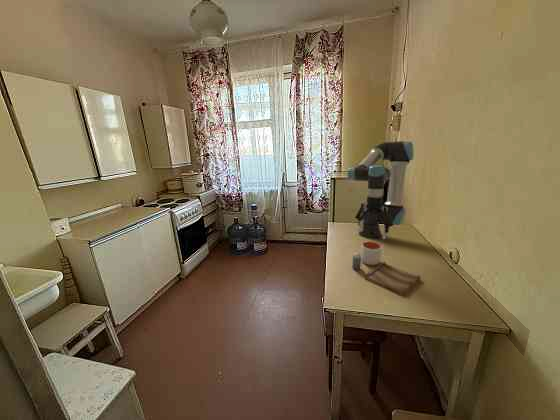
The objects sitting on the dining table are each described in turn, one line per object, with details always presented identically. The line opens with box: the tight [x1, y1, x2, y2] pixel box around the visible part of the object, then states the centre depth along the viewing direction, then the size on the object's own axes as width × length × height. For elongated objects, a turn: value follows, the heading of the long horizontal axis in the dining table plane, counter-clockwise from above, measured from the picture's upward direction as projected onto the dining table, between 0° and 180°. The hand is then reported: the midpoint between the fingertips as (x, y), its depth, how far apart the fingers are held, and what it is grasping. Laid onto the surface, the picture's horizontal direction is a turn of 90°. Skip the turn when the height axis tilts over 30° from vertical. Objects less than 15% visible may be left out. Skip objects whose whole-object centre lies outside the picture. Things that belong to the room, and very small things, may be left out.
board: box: [364, 262, 422, 297], centre depth 108 cm, size 18×18×2 cm
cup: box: [360, 241, 382, 266], centre depth 124 cm, size 10×10×10 cm
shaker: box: [351, 252, 362, 272], centre depth 118 cm, size 4×4×9 cm
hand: (372, 234), depth 121 cm, fingers open, 13 cm apart
